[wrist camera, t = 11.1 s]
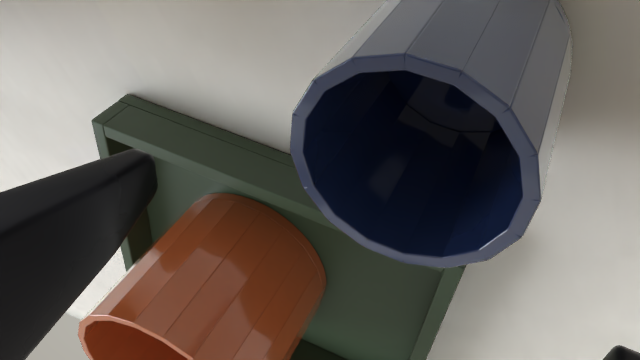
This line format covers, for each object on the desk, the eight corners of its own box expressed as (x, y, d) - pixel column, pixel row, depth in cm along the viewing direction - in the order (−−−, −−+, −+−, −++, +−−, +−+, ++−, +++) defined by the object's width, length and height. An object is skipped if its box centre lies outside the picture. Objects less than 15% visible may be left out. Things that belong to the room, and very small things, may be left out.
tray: (156, 266, 31) (131, 294, 30) (127, 93, 23) (90, 120, 22) (412, 384, 27) (397, 424, 26) (479, 225, 20) (464, 269, 18)
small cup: (368, 101, 18) (284, 215, 14) (398, -67, 15) (298, 20, 11) (531, 155, 17) (490, 299, 13) (609, -15, 13) (588, 109, 9)
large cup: (190, 274, 29) (97, 388, 24) (179, 169, 24) (59, 285, 19) (318, 333, 27) (245, 469, 22) (335, 232, 22) (245, 379, 17)
